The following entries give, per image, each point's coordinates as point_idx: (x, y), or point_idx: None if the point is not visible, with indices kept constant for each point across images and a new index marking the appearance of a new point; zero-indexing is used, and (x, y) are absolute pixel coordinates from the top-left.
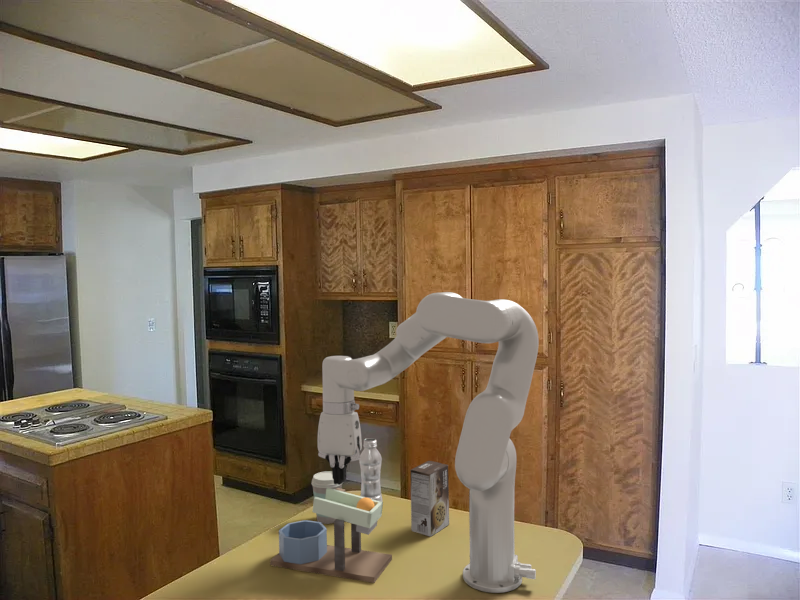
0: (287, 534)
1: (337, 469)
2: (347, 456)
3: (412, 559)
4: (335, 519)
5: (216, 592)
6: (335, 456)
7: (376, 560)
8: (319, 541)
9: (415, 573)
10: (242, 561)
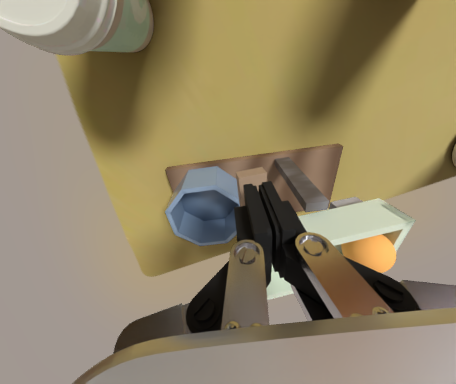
0: (176, 209)
1: (276, 270)
2: (361, 301)
3: (372, 127)
4: (151, 21)
5: (183, 266)
6: (247, 303)
7: (321, 172)
8: None
9: (377, 164)
10: (149, 225)
